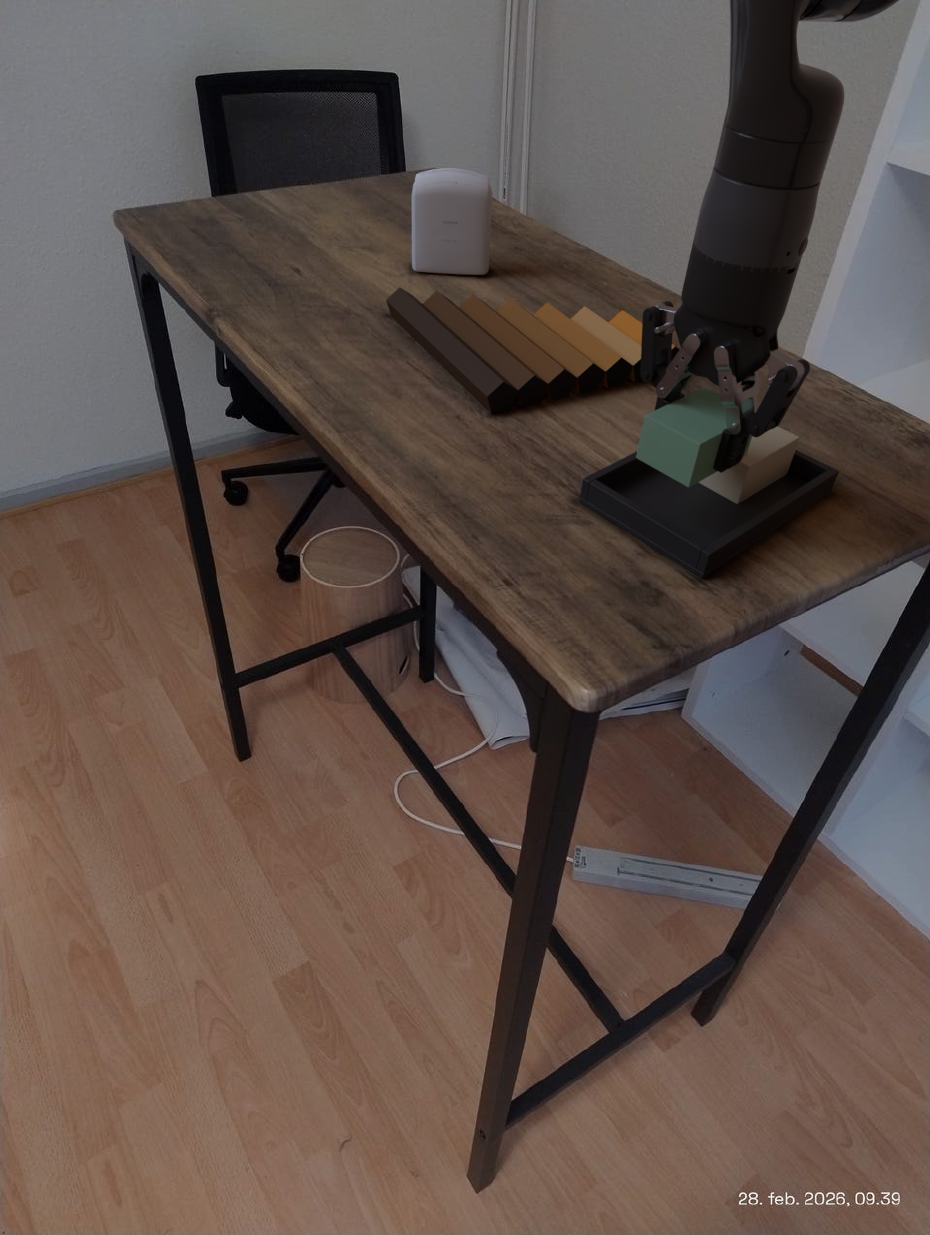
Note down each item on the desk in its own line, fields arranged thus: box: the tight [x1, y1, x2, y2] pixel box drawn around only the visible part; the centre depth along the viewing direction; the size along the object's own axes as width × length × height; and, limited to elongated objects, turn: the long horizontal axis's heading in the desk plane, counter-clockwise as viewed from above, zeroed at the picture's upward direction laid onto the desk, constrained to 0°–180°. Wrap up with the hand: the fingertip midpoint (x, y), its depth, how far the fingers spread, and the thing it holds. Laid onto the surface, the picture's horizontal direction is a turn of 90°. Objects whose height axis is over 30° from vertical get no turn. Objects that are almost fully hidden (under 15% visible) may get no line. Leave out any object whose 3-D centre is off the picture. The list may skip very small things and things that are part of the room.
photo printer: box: [411, 167, 493, 276], centre depth 111 cm, size 10×4×12 cm, turn 88°
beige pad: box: [698, 425, 801, 504], centre depth 79 cm, size 6×8×4 cm
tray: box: [578, 449, 840, 579], centre depth 78 cm, size 14×20×2 cm
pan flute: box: [385, 286, 681, 415], centre depth 99 cm, size 25×3×25 cm
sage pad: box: [636, 386, 752, 487], centre depth 71 cm, size 6×8×4 cm
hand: (693, 451), depth 72 cm, fingers closed on sage pad, 5 cm apart
